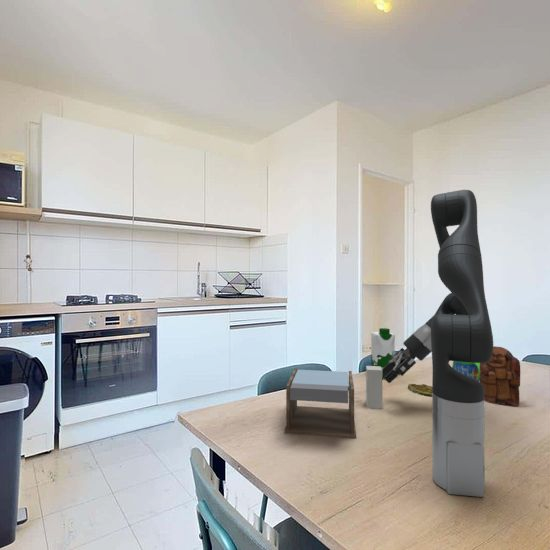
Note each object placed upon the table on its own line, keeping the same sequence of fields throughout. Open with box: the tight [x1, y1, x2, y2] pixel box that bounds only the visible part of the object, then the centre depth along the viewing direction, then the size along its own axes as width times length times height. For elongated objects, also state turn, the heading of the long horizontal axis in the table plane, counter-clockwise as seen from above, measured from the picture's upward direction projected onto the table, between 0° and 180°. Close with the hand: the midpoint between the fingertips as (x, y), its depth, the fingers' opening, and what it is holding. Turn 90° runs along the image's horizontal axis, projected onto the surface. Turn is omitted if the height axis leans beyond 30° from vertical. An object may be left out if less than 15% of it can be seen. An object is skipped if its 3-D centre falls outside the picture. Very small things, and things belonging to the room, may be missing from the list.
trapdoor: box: [290, 369, 349, 404], centre depth 99 cm, size 22×15×3 cm
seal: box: [407, 383, 432, 398], centre depth 129 cm, size 9×5×15 cm
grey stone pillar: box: [365, 365, 384, 410], centre depth 115 cm, size 5×5×12 cm
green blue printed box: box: [451, 361, 481, 382], centre depth 139 cm, size 16×10×10 cm
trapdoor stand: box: [284, 367, 357, 439], centre depth 102 cm, size 18×18×12 cm
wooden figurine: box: [479, 345, 521, 407], centre depth 119 cm, size 12×6×18 cm, turn 52°
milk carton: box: [370, 327, 396, 378], centre depth 149 cm, size 9×9×20 cm
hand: (384, 376), depth 114 cm, fingers open, 8 cm apart
